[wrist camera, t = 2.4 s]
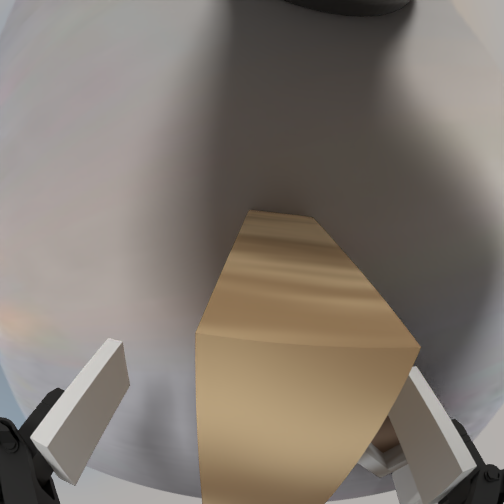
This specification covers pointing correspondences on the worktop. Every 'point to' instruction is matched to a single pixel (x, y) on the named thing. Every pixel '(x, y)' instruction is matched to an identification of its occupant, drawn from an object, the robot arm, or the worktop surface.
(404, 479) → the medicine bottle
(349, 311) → the door slab
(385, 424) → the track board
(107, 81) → the worktop surface
